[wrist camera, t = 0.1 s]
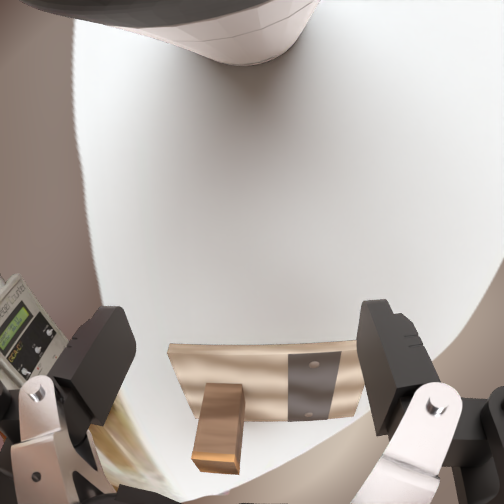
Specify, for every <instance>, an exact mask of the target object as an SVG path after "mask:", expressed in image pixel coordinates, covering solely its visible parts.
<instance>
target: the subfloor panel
mask: <svg viewBox="0 0 504 504" xmlns="http://www.w3.org/2000/svg"><path fill="white" fill-rule="evenodd" d="M167 354H168V357H169V359H170V361H171V364H172V366H173V369H174V371H175V374H176V376H177V378H178V381H179V383H180V385H181V388H182V390H183V392H184V395H185V397H186V399H187V401H188V403H189V406H190V408H191V410H192V412H193V414H194V416H195V419H199V416H200V411H201V406H202V401H203V396H204V391H205V386H206V383H231V384H242V386H243V391H244V397H245V402H246V404H245V415H244V421H288V422H292V421H313V420H327V419H332V418H343V417H353V416H354V414H355V411H356V408H357V406H358V403H359V400H360V397H361V394H362V391H363V388H364V384H365V383H364V379H363V375H362V371H361V367H360V363H359V359H358V355H357V346H356V340H352V341H339V342H324V343H305V344H280V345H193V344H170V345H169V348H168V351H167Z"/></svg>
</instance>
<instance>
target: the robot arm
mask: <svg viewBox="0 0 504 504" xmlns="http://www.w3.org/2000/svg"><path fill="white" fill-rule="evenodd" d="M19 1H21V2H22V3H24V4H26V5H28V6H31V7H33V8H36V9H38V10H42V11H45V12H49V13H53V14H56V15H61V16H65V17H70V18H75V19H80V20H85V21H90V22H94V23H99V24H103V25H106V26H111V27H115V28H118V29H122V30H126V31H130V32H133V33H137V34H140V35H144V36H147V37H151V38H154V39H157V40H160V41H163V42H166V43H169V44H172V45H175V46H178V47H181V48H184V49H186V50H189V51H192V52H194V53H197V54H200V55H202V56H205V57H207V58H210V59H212V60H215V61H216V62H219V63H223V64H228V65H234V66H250V65H256V64H262V63H264V62H267V61H270V60H273V59H275V58H276V57H278V56H280V55H281V54H283V53H285V52H286V51H287V50H288V49H289V48H290V47H291V46H292V45H293V44H294V43H295V41H296V40H297V39H298V37H299V36H300V34H301V32H302V31H303V29H304V28H305V26H306V24H307V23H308V21H309V19H310V17H311V16H312V14H313V12H314V10H315V9H316V7H317V5H318V4H319V2H320V0H19ZM356 346H357V355H358V359H359V363H360V367H361V371H362V375H363V379H364V383H365V387H366V391H367V395H368V399H369V404H370V408H371V413H372V417H373V421H374V426H375V431H376V436H382V435H388V436H389V442H390V443H389V444H388V446H387V448H386V450H385V451H384V453H383V454H382V456H381V458H380V459H379V461H378V462H377V464H376V466H375V467H374V469H373V470H372V472H371V473H370V475H369V476H368V478H367V480H366V481H365V483H364V484H363V486H362V487H361V488H360V490H359V491H358V493H357V494H356V496H355V497H354V498H353V500H352V501H351V503H350V504H430V502H431V501H432V498H433V496H434V494H435V492H436V490H437V488H438V485H439V482H440V478H439V477H438V473H439V470H440V468H441V467H443V466H444V467H446V466H447V467H452V471H453V475H454V481H455V486H456V491H457V496H458V501H459V504H504V386H501V387H498V388H497V389H495V390H494V391H493V392H492V394H491V395H490V397H489V398H488V399H473V398H462V397H460V395H459V394H458V392H457V391H456V390H455V389H454V388H452V387H451V386H449V385H447V384H444V383H441V381H440V379H439V377H438V375H437V373H436V370H435V368H434V366H433V364H432V361H431V359H430V357H429V355H428V353H427V351H426V349H425V347H424V346H423V343H422V341H421V338H420V337H418V332H417V330H416V328H415V327H414V325H413V323H412V322H411V321H410V320H409V319H408V318H407V317H405V316H404V315H403V314H402V313H399V314H393V312H392V310H391V307H390V305H389V303H388V301H387V300H386V299H380V300H368V301H363V302H362V305H361V312H360V319H359V326H358V332H357V340H356ZM135 354H136V341H135V338H134V336H133V333H132V330H131V328H130V325H129V323H128V320H127V317H126V315H125V312H124V310H123V308H122V307H120V306H101V307H99V308H98V310H97V311H96V313H95V314H94V315H93V317H92V318H91V319H89V320H88V321H87V322H85V323H84V324H83V325H82V326H80V327H79V328H78V330H77V331H76V333H75V334H74V335H73V337H72V340H70V341H69V342H68V344H67V347H65V348H64V350H63V351H62V353H61V354H60V356H59V357H58V359H57V360H56V362H55V363H54V365H53V366H52V368H51V369H50V371H49V372H48V374H47V375H46V376H43V375H40V376H35V377H33V378H31V379H29V380H28V381H27V382H25V383H24V385H23V386H22V387H21V389H15V390H7V388H6V387H5V386H4V384H3V383H2V382H1V380H0V431H1V432H2V433H3V434H4V435H5V436H6V437H7V438H6V440H5V442H4V445H3V447H2V449H1V451H0V504H182V503H179V502H177V501H174V500H172V499H169V498H167V497H165V496H163V495H160V494H158V493H156V492H151V491H146V490H142V489H137V488H133V487H129V486H125V485H121V484H120V485H119V488H118V491H117V493H116V491H115V490H114V488H113V487H112V485H111V484H110V483H109V481H108V480H107V478H106V476H105V474H104V471H103V469H102V466H101V463H100V460H99V457H98V454H97V451H96V448H95V445H94V442H93V438H92V435H91V433H90V431H89V430H88V428H89V426H90V424H95V425H99V426H104V423H105V421H106V419H107V416H108V414H109V412H110V409H111V407H112V405H113V403H114V400H115V398H116V396H117V394H118V391H119V389H120V387H121V385H122V383H123V380H124V378H125V376H126V374H127V372H128V370H129V367H130V365H131V363H132V361H133V359H134V357H135ZM241 504H250V503H241ZM251 504H252V503H251Z"/></svg>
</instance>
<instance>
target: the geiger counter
mask: <svg viewBox="0 0 504 504" xmlns="http://www.w3.org/2000/svg"><path fill="white" fill-rule="evenodd" d="M68 342H69V340H68V339H67V338H66V336H65V335H64V334H63V333H62V332H61V330H60V329H59V328H58V326H57V325H56V324H55V323H54V321H53V320H52V319H51V318H50V316H49V315H48V313H47V312H46V311H45V310H44V308H43V307H42V305H41V304H40V302H39V301H38V300H37V298H36V297H35V295H34V294H33V293H32V291H31V290H30V288H29V287H28V285H27V284H26V282H25V281H24V279H23V278H22V276H21V275H20V274H13V275H12V276H11V277H10V278H9V279H8V280H7V281H6V282H5V281H4V279H3V278H2V276H1V274H0V380H1V382H2V383H3V384H4V386H5V387H6V388H7V390H15V389H21V387H22V386H23V385H24V383H25V382H27V381H28V380H29V379H31V378H33V377H35V376H40V375H43V376H46V375H47V374H48V372H49V371H50V369H51V368H52V366H53V365H54V363H55V362H56V360H57V359H58V357H59V356H60V354H61V353H62V351H63V350H64V348H65V347H67V344H68Z"/></svg>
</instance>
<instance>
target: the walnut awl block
mask: <svg viewBox="0 0 504 504" xmlns="http://www.w3.org/2000/svg"><path fill="white" fill-rule="evenodd" d="M245 404H246V402H245V397H244V391H243V386H242V384H231V383H206V386H205V391H204V396H203V401H202V406H201V411H200V416H199V422H198V427H197V432H196V437H195V443H194V448H193V451H192V457H191V459H192V461H193V462H194V463H195V465H196V466H197V468H198V469H199V470H200V472H208V473H220V474H235V475H239V471H240V458H241V447H242V436H243V426H244V415H245Z"/></svg>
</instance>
